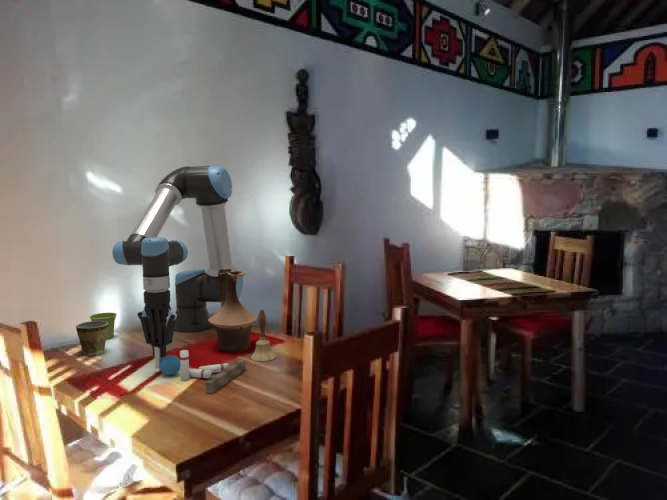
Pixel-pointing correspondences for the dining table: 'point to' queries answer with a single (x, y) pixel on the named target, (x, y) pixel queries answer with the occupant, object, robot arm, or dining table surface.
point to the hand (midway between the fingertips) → (160, 366)
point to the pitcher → (232, 315)
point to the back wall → (225, 376)
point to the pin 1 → (184, 365)
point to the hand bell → (262, 343)
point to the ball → (170, 365)
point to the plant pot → (108, 318)
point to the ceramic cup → (92, 337)
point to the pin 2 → (215, 367)
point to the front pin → (200, 373)
